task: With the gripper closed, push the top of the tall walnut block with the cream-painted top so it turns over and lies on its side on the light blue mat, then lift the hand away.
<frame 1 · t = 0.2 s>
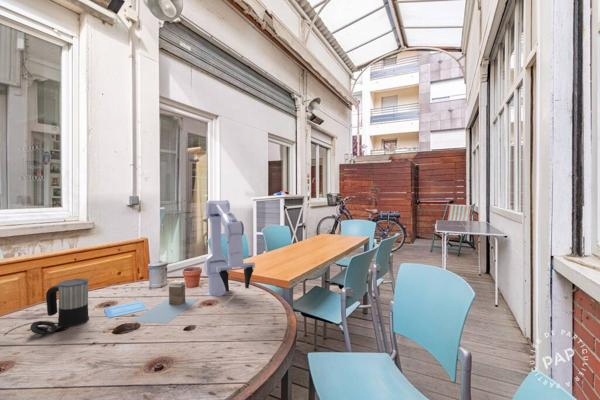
hand: (237, 289, 112), 11 cm above the table, tool pointing down, fingers open, 7 cm apart
milk frother: (62, 327, 105), on the table
walnut block: (177, 303, 126), resting on light blue mat
blue streaked flat panel: (125, 312, 119), on the table
light blue mat: (167, 310, 119), on the table
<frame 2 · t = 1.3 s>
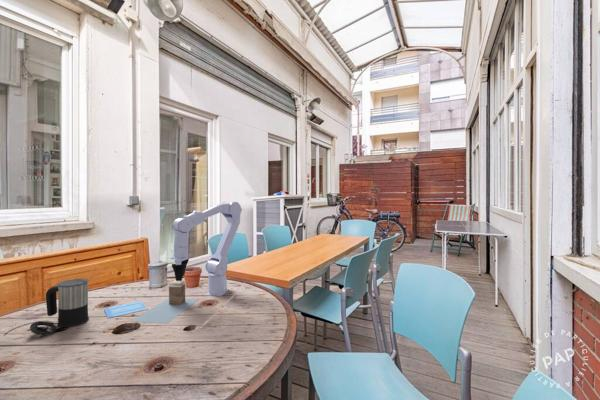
hand: (180, 278, 126), 11 cm above the table, tool pointing down, fingers open, 7 cm apart
nothing on the table moved.
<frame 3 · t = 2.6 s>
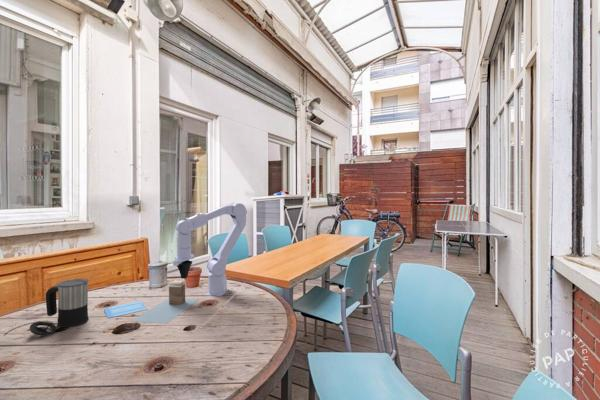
hand: (184, 278, 132), 9 cm above the table, tool pointing down, fingers closed
nothing on the table moved.
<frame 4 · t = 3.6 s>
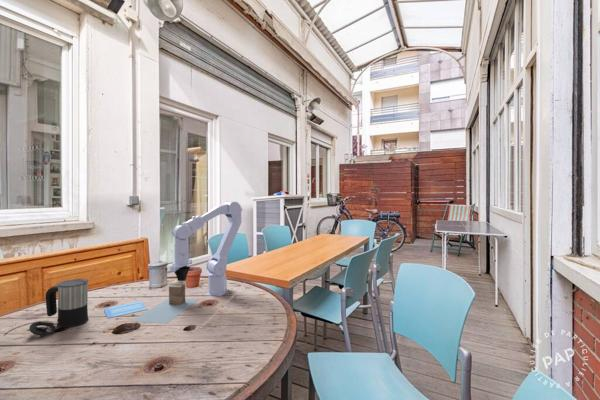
hand: (181, 284, 130), 7 cm above the table, tool pointing down, fingers closed
nothing on the table moved.
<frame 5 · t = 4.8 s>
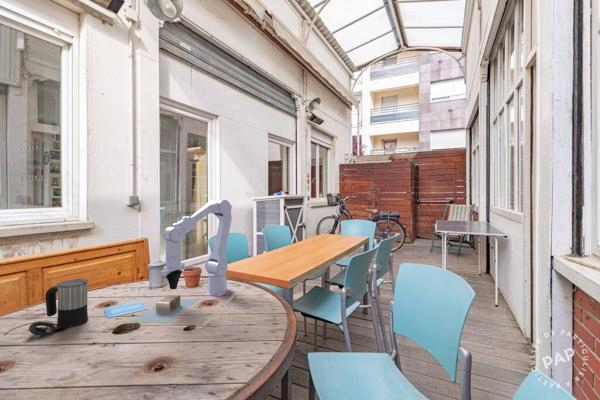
hand: (173, 288, 123), 7 cm above the table, tool pointing down, fingers closed
walnut block: (174, 300, 124), point 2 cm above the table, tilted 90°, touching light blue mat
everything else where it was.
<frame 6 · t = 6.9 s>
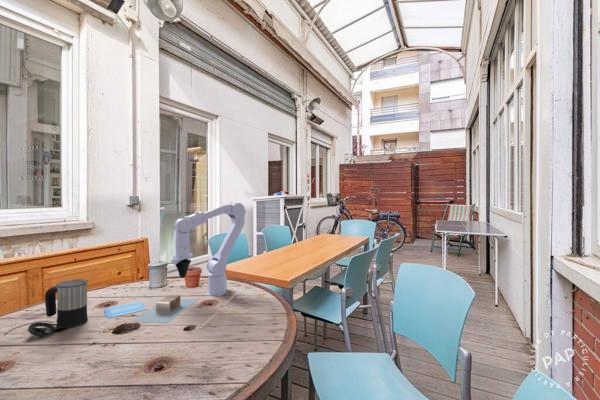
hand: (182, 276, 130), 10 cm above the table, tool pointing down, fingers closed
nothing on the table moved.
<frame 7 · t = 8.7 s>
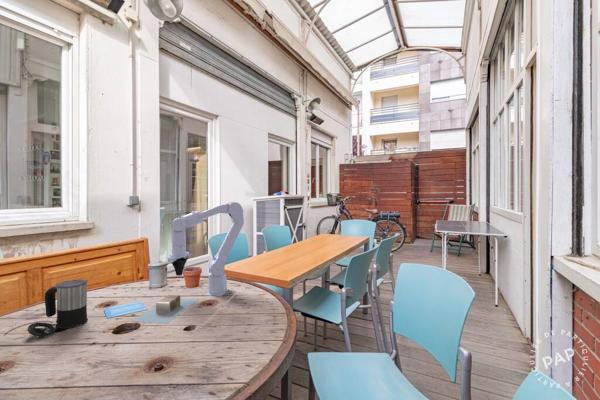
hand: (179, 275, 133), 10 cm above the table, tool pointing down, fingers closed
at the end: walnut block tilted 90°; walnut block inside the target area (1.5 cm from its centre), point 2.5 cm above the table; the gripper is holding nothing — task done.
